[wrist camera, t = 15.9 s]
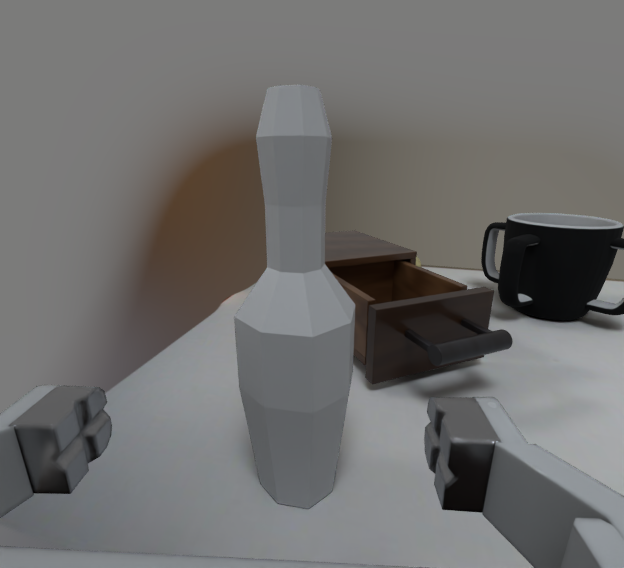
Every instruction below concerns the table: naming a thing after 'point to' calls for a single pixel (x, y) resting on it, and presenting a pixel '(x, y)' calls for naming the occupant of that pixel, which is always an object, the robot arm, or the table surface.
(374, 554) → the table surface
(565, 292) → the mug
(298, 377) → the faceted bottle
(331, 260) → the cabinet
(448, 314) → the drawer
